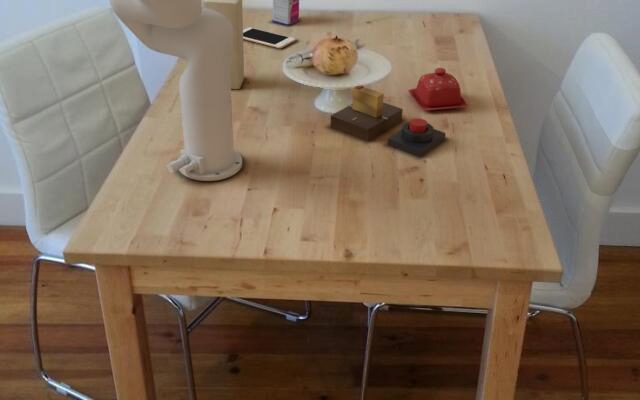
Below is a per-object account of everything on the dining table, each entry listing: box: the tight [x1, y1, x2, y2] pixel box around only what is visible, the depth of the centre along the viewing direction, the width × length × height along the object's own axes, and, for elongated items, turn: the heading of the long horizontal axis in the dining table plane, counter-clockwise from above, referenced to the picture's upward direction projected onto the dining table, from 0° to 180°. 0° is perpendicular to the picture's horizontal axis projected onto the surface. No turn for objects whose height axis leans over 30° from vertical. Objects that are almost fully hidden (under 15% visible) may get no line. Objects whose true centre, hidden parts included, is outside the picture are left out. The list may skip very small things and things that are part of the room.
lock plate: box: [330, 101, 404, 143], centre depth 163 cm, size 13×11×3 cm
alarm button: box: [409, 117, 428, 133], centre depth 155 cm, size 4×4×2 cm
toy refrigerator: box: [202, 0, 245, 90], centre depth 175 cm, size 8×7×21 cm
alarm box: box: [387, 121, 447, 158], centre depth 156 cm, size 10×8×4 cm
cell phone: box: [243, 26, 297, 49], centre depth 206 cm, size 8×16×1 cm, turn 58°
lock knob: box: [352, 84, 385, 118], centre depth 161 cm, size 6×2×5 cm, turn 51°
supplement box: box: [272, 0, 300, 27], centre depth 216 cm, size 6×6×12 cm
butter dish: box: [407, 67, 468, 111], centre depth 172 cm, size 12×12×8 cm
